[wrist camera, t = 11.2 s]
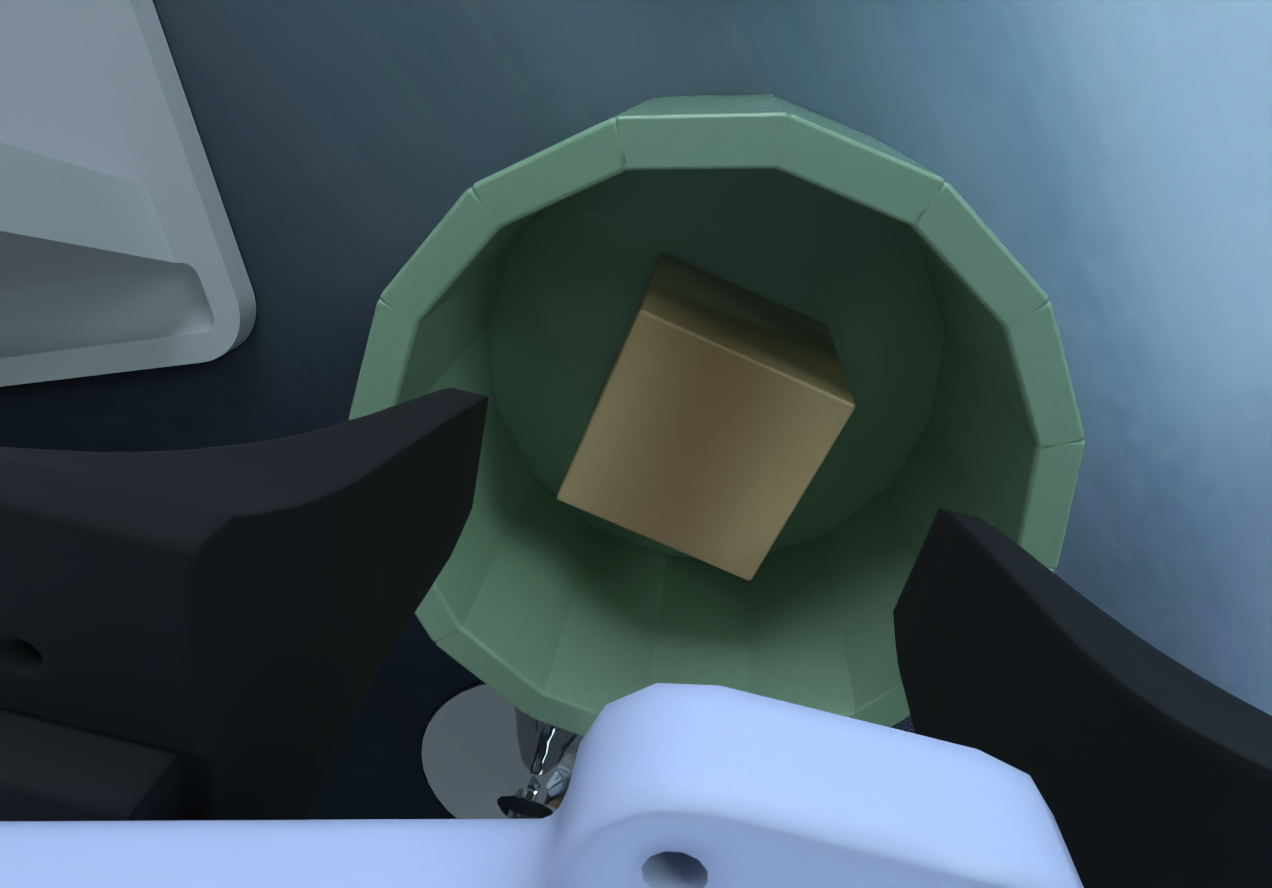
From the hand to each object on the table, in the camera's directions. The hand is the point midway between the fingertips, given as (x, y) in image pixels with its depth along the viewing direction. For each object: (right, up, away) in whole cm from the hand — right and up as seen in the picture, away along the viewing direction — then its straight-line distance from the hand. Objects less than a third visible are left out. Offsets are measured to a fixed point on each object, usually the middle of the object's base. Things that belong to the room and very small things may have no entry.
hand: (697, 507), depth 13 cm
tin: (+1, +3, +6) cm, 7 cm away
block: (+1, +3, +6) cm, 6 cm away
